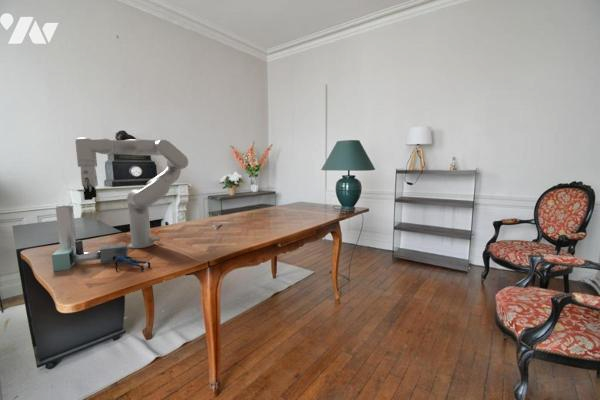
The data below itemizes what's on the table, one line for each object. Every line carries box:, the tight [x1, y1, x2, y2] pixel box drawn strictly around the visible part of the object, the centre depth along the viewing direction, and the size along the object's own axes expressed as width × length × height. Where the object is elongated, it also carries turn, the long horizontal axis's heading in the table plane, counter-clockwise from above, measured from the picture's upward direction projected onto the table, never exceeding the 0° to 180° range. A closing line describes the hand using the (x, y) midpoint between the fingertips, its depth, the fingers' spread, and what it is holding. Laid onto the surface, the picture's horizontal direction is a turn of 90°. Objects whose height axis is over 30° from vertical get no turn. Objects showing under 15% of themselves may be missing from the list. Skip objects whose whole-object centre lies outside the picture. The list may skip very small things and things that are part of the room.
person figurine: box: [113, 256, 151, 272], centre depth 122 cm, size 11×4×18 cm
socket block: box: [51, 248, 75, 272], centre depth 123 cm, size 6×9×7 cm, turn 27°
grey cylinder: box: [55, 204, 77, 254], centre depth 139 cm, size 6×6×25 cm
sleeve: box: [99, 242, 129, 265], centre depth 131 cm, size 10×7×7 cm
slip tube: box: [69, 239, 101, 263], centre depth 126 cm, size 17×4×10 cm, turn 117°
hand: (90, 198), depth 137 cm, fingers open, 9 cm apart
